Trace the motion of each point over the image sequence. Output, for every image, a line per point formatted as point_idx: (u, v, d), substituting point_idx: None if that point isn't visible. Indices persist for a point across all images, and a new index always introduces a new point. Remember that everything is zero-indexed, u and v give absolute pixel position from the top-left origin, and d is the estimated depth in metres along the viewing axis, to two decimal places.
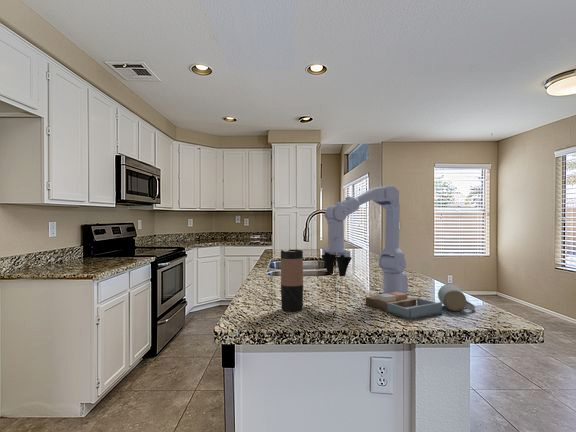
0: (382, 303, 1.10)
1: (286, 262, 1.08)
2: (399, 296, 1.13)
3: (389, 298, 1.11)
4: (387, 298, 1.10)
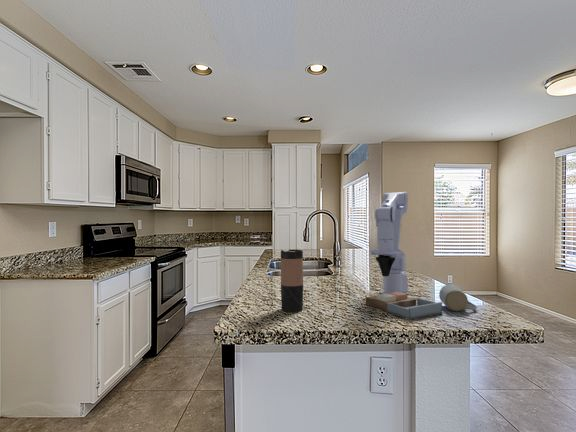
0: (382, 303, 1.10)
1: (286, 262, 1.08)
2: (399, 296, 1.13)
3: (389, 298, 1.11)
4: (387, 298, 1.10)
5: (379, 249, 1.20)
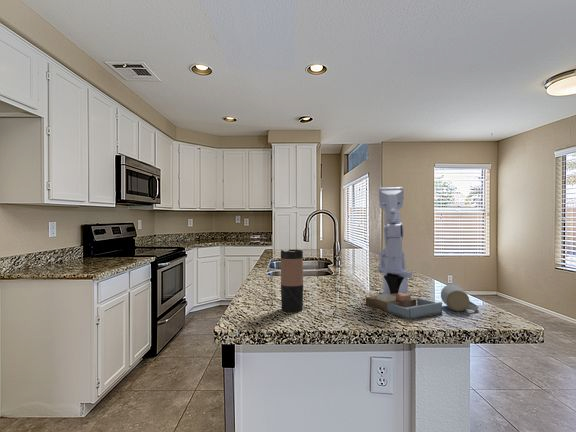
0: (382, 303, 1.10)
1: (286, 262, 1.08)
2: (402, 297, 1.11)
3: (389, 298, 1.11)
4: (387, 298, 1.10)
5: (387, 268, 1.16)
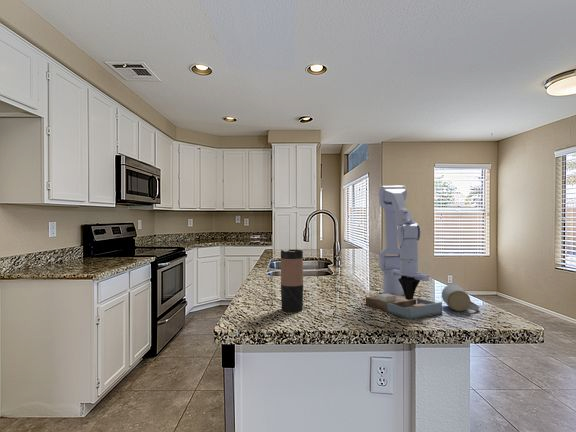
0: (382, 303, 1.10)
1: (286, 262, 1.08)
2: None
3: (389, 298, 1.11)
4: (387, 298, 1.10)
5: (402, 270, 1.10)
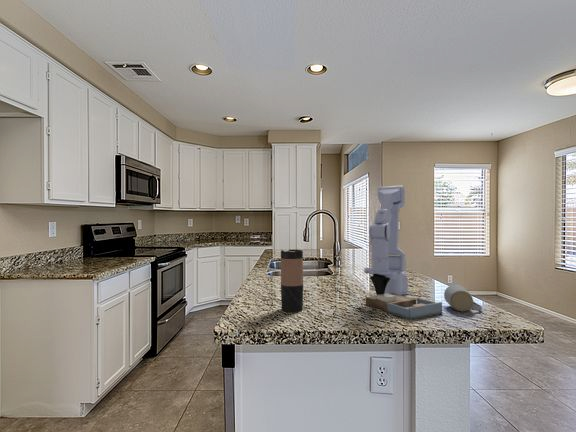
0: (382, 303, 1.10)
1: (286, 262, 1.08)
2: None
3: (390, 298, 1.10)
4: (388, 298, 1.10)
5: (373, 268, 1.14)
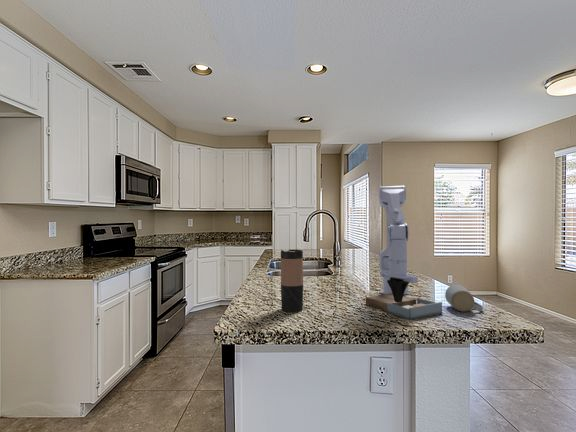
0: (382, 303, 1.10)
1: (286, 262, 1.08)
2: None
3: None
4: None
5: (391, 272, 1.07)
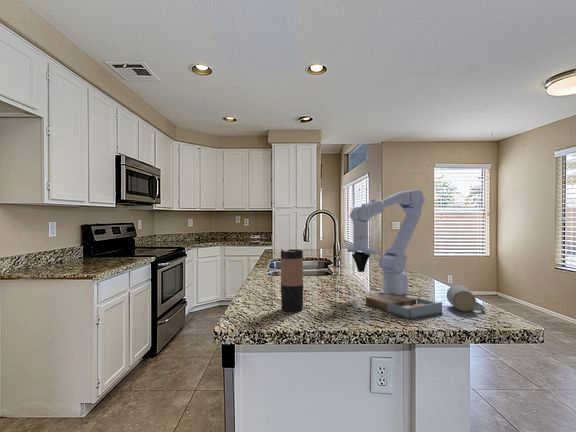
0: (382, 303, 1.10)
1: (286, 262, 1.08)
2: None
3: None
4: None
5: (355, 246, 1.27)
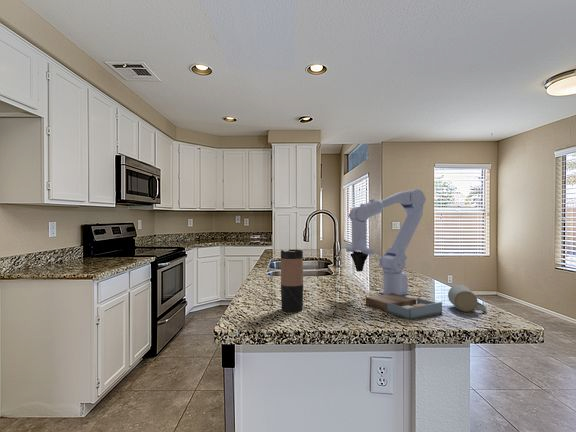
0: (382, 303, 1.10)
1: (286, 262, 1.08)
2: None
3: None
4: None
5: (353, 246, 1.28)
